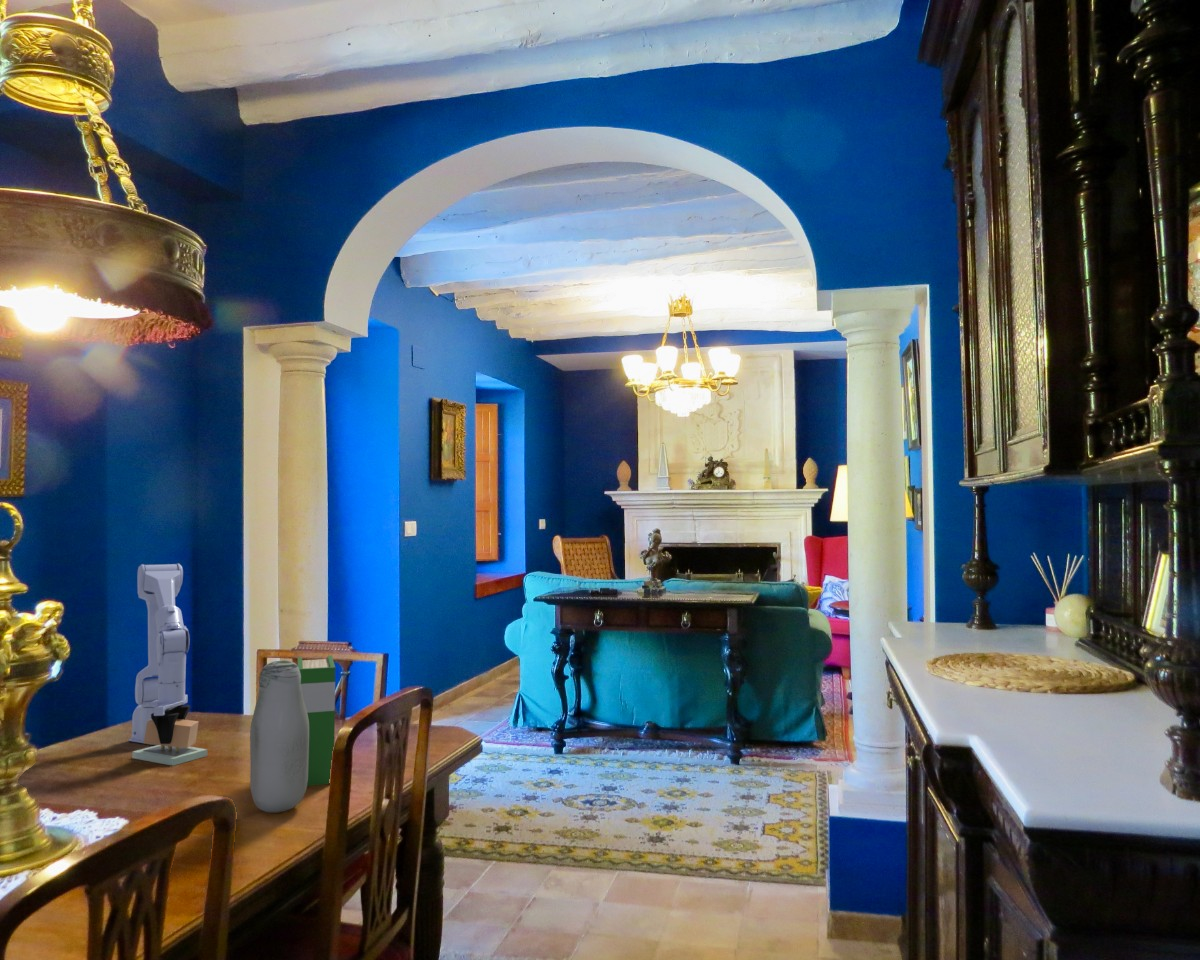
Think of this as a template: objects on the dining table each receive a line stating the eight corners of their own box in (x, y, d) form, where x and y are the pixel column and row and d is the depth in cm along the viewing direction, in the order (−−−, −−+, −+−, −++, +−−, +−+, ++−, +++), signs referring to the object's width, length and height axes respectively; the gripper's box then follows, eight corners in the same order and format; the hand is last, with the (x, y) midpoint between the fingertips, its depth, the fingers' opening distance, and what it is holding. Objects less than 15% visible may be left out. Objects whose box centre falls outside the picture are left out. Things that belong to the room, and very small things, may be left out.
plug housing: (143, 743, 196) (147, 721, 196) (153, 737, 201) (156, 716, 201) (187, 748, 197) (190, 726, 197) (195, 742, 201) (198, 721, 202)
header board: (132, 758, 198) (132, 738, 198) (167, 749, 206) (167, 730, 206) (172, 765, 191) (173, 745, 192) (207, 756, 199) (207, 736, 200)
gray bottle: (276, 799, 167) (279, 655, 169) (318, 805, 164) (320, 658, 165) (237, 815, 158) (240, 663, 160) (280, 822, 154) (283, 666, 156)
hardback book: (295, 764, 192) (297, 657, 193) (330, 761, 195) (331, 655, 196) (296, 787, 176) (298, 669, 177) (333, 783, 178) (335, 667, 179)
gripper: (166, 676, 206) (165, 733, 205) (140, 687, 192) (138, 749, 191) (197, 675, 207) (195, 732, 206) (173, 687, 192) (171, 748, 192)
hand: (170, 740), depth 199 cm, fingers closed on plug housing, 5 cm apart
